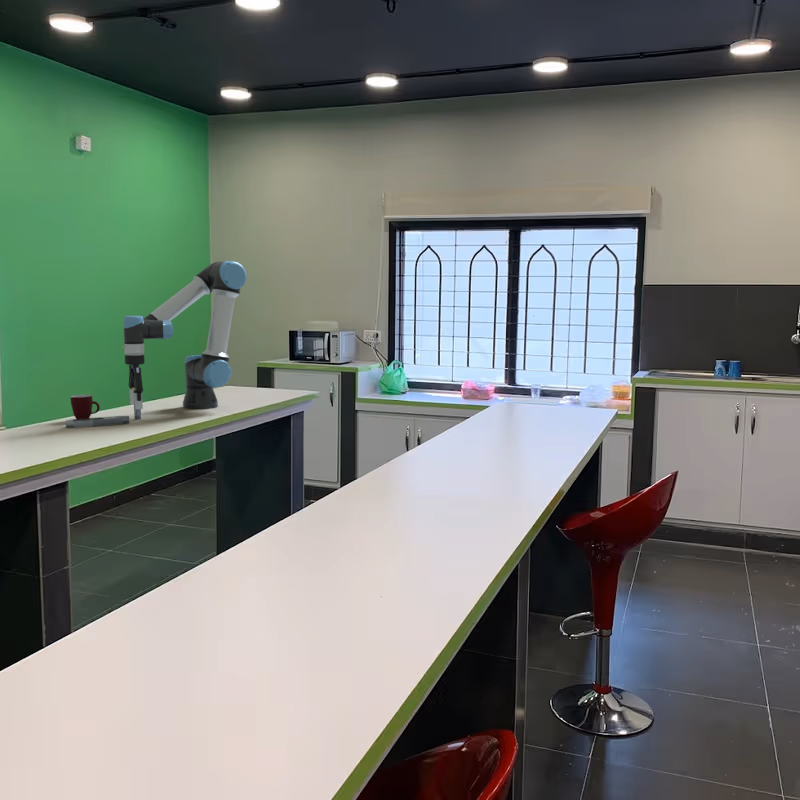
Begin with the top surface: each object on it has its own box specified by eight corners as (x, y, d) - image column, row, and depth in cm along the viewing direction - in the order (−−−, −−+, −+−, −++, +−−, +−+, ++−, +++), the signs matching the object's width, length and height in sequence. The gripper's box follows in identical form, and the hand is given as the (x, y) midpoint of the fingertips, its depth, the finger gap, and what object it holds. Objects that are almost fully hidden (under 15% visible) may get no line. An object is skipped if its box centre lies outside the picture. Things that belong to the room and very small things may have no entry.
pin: (141, 417, 323) (139, 386, 321) (142, 419, 320) (141, 387, 318) (132, 418, 321) (131, 387, 319) (134, 419, 318) (132, 388, 316)
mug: (98, 417, 324) (96, 393, 322) (101, 420, 317) (100, 395, 315) (70, 420, 318) (69, 395, 317) (73, 422, 312) (72, 397, 310)
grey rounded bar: (128, 421, 314) (127, 415, 314) (130, 423, 310) (129, 417, 310) (65, 426, 304) (65, 419, 304) (66, 428, 299) (66, 422, 299)
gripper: (120, 352, 326) (122, 403, 329) (129, 357, 304) (131, 411, 307) (139, 351, 329) (140, 402, 332) (149, 356, 307) (151, 410, 310)
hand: (136, 406), depth 319 cm, fingers open, 13 cm apart
